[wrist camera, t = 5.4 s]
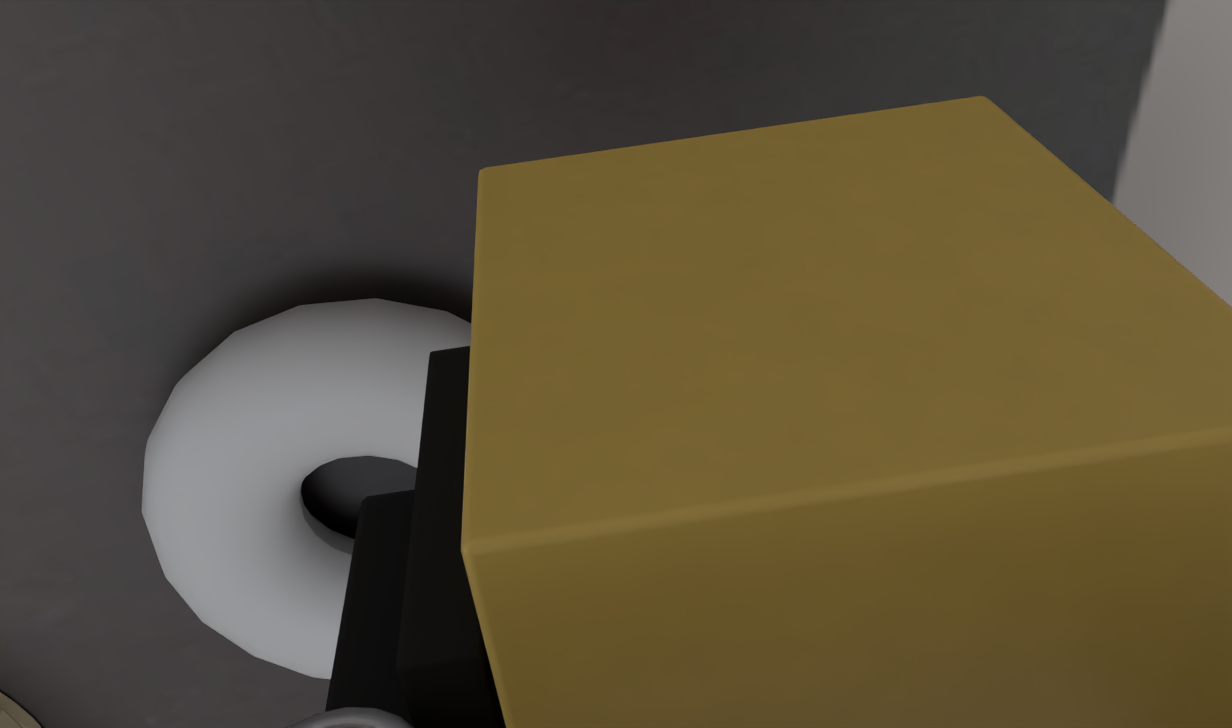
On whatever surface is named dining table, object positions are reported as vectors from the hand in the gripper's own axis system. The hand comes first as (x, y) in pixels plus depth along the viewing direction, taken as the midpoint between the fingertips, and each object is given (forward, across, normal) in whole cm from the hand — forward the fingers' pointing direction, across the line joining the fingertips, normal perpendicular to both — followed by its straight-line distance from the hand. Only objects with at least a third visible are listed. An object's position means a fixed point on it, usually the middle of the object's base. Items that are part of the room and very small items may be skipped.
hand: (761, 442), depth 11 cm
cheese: (+1, 0, 0) cm, 1 cm away
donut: (+13, +7, +9) cm, 17 cm away
